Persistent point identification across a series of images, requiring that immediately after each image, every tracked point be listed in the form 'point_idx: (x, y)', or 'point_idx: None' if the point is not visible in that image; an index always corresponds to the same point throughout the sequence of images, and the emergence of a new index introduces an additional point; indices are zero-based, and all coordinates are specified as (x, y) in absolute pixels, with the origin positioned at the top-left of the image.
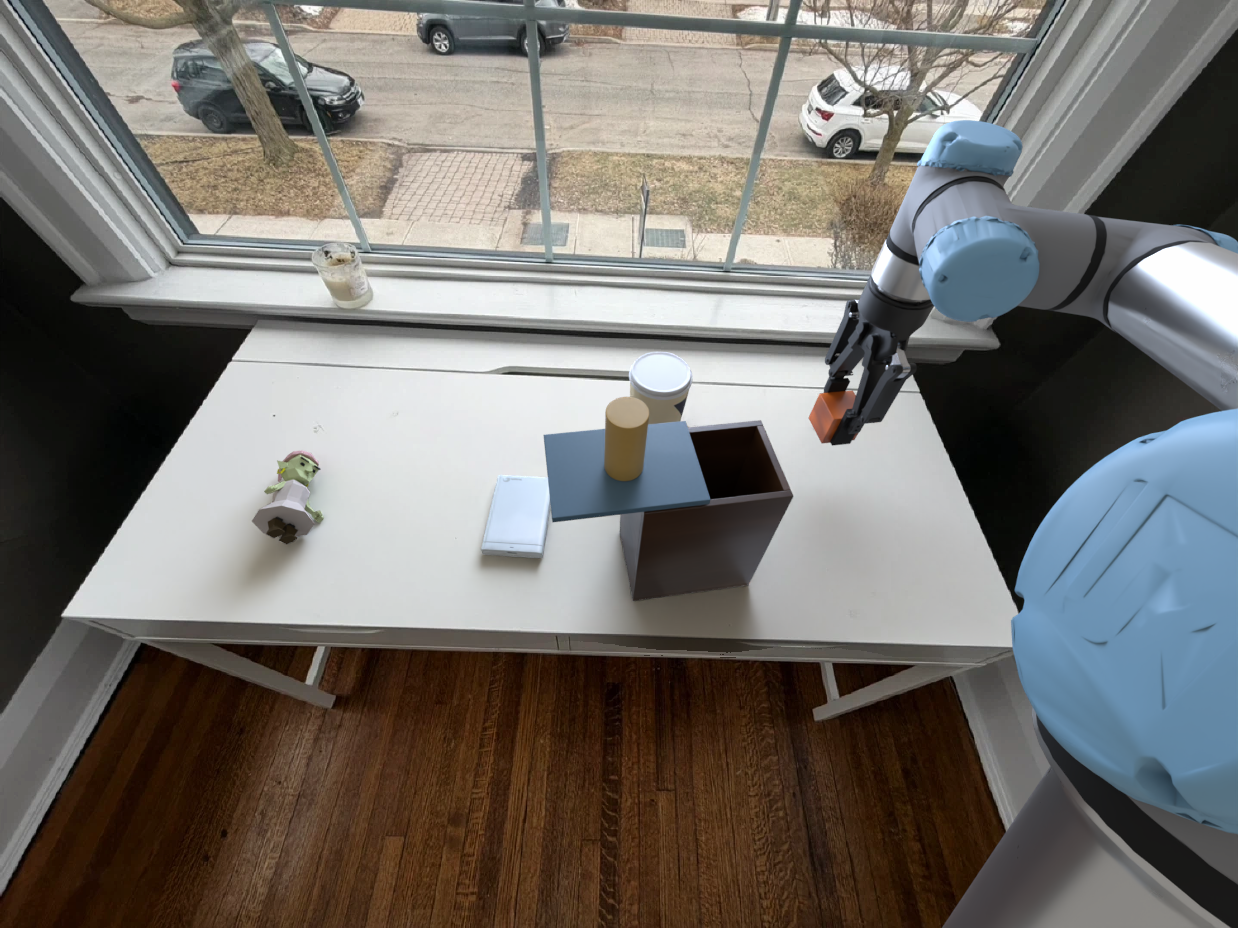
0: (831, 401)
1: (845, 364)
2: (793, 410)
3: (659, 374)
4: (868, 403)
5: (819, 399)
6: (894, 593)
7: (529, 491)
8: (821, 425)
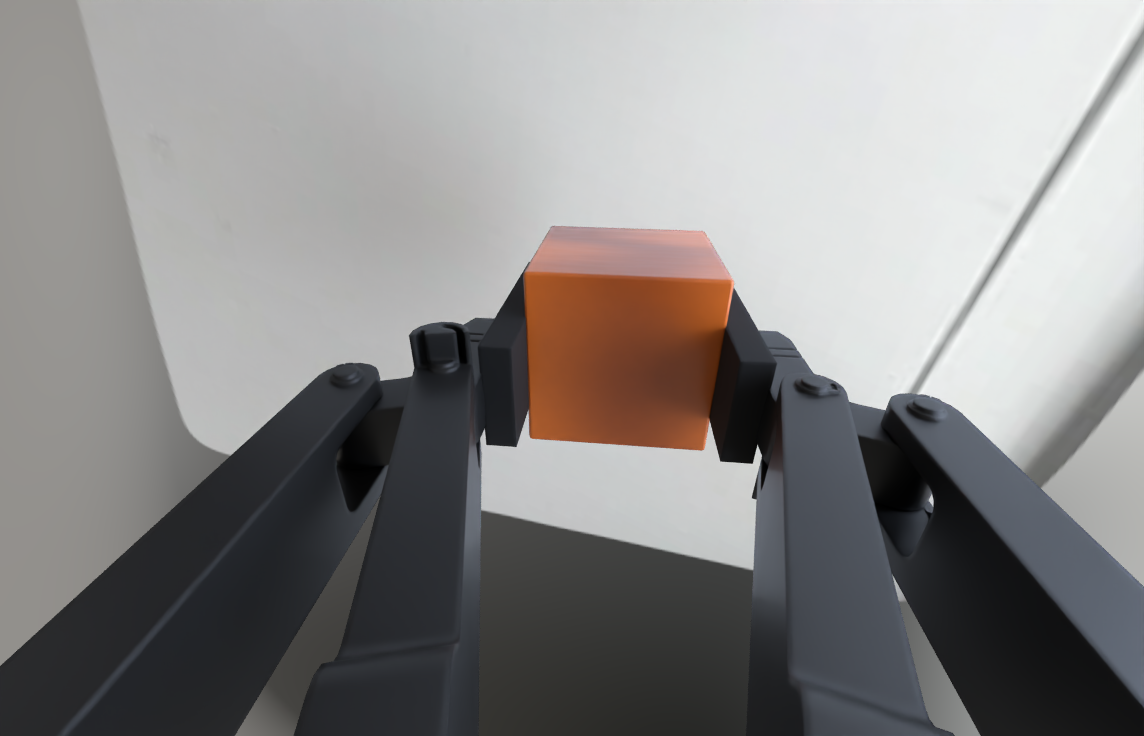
0: (654, 319)
1: (773, 496)
2: (860, 275)
3: None
4: (294, 454)
5: (706, 271)
6: (236, 275)
7: None
8: (597, 242)
